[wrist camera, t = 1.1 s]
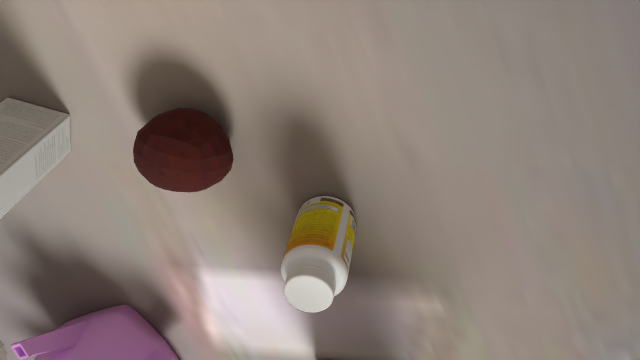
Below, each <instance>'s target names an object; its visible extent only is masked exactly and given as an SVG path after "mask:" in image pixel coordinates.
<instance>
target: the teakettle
mask: <svg viewBox="0 0 640 360" xmlns="http://www.w3.org/2000/svg"><path fill="white" fill-rule="evenodd" d="M11 348H12V349H13V351H14V353H15V354H16V356H17V357H18V359H19V360H23V359H26V358H30V357H31V356H34V355H37V356H36V357H35V359H34V360H179V358H178V357H177V355H176V354H175V353H174V351H173V350H172V348H171V347H170V346H169V344H168V343H167V342H166V341H165V340H164V338H163V337H162V336H161V335H160V334H159V333H158V332H157V331H156V330H155V329H154V328H153V327H152V326H151V325H150V324H149V323H148V322H147V321H146V320H145V319H144V318H143V317H142V316H141V315H140V314H139V313H138V312H137V311H136V310H134V309H133V308H132V307H130V306H128V305H118V306H113V307H110V308H106V309H102V310H99V311H96V312H92V313H89V314H86V315H83V316H81V317H78V318H75V319H73V320H70V321H68V322H66V323H64V324H63V325H61V326H60V327H59V328H57V329H56V330H54V331H51V332H47V333H44V334H41V335H38V336H35V337H32V338H29V339H26V340H23V341H20V342H17V343H14V344H12V345H11Z"/></svg>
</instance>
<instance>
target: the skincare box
mask: <svg viewBox="0 0 640 360" xmlns="http://www.w3.org/2000/svg"><path fill="white" fill-rule="evenodd" d="M70 150H71V143H70V115H69V114H66V113H63V112H59V111H55V110H52V109H48V108H44V107H41V106H37V105H33V104H30V103H26V102H23V101H19V100H15V99H12V98H6V99H5V100H3V101H2V102H0V219H1V218H2V217H3V216H4V215H5V214H6V213H7V212H8V211H9V210H10V209H11V208H12V207H13V206H14V205H15V204H16V203H17V202H18V201H19V200H20V199H22V198H23V197H24V196H25V195H26V194H27V193H28V192H29V191H30V190H31V189H32V188H33V187H34V186H35V185H36V184H37V183H38V182H39V181H40V180H41V179H42V178H43V177H44V176H45V175H46V174H47V173H49V172H50V171H51V170H52V169H53V168H54V167H55V166H56V165H57V164H58V163H59V162H60V161H61V160H62V159H63V158H64V157H65V156H66V155H67V154H68V153H69V152H70Z"/></svg>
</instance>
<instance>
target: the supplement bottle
mask: <svg viewBox="0 0 640 360" xmlns="http://www.w3.org/2000/svg"><path fill="white" fill-rule="evenodd" d="M356 227H357V222H356V217H355V214H354V212H353V211H352V209H351V208H350V207H349V206H348V205H347V204H346V203H345V202H343V201H342V200H340V199H337V198H334V197H330V196H318V197H314V198H312V199H310V200H308V201H307V202H305V203H304V204H303V205H302V206H301V208H300V210H299V212H298V214H297V217H296V220H295V223H294V226H293V229H292V232H291V235H290V238H289V241H288V244H287V247H286V251H285V254H284V257H283V260H282V263H281V276H282V279H283V281H284V283H285V286H284V295H285V298H286V299H287V301H288V302H289V303H290V304H291V305H292V306H293V307H295V308H296V309H298V310H301V311H304V312H310V313H315V312H320V311H323V310H325V309H327V308H328V307H329V306H330V305H331V303H332V301H333V298H334V296H336V295H337V294H339V293H340V292H341V291H342V290H343V288H344V287H345V285H346V282H347V279H348V273H349V268H350V262H351V256H352V250H353V245H354V239H355V233H356Z"/></svg>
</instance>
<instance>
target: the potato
mask: <svg viewBox="0 0 640 360" xmlns="http://www.w3.org/2000/svg"><path fill="white" fill-rule="evenodd" d="M133 153H134V163H135V165H136V167H137V169H138V171H139V172H140V173H141V174H142V175H143V176H144V177H145V178H146V179H147V180H148V181H149V182H150V183H151V184H153V185H154V186H156V187H159V188H162V189H165V190H170V191H176V192H197V191H201V190H204V189H207V188H209V187H211V186H212V185H214V184H216V183H218V182H220V181H221V180H222V179H223V178H224V177H225V176H226V175H227V174H228V172H229V171H230V170H231V167H232V163H233V153H232V149H231V145H230V141H229V139H228V138H227V136H226V135H225V133H224V131H223V130H222V128H221V127H220V125H219V124H218V123H216V122H215V121H214V120H213V119H212V118H210V117H209V116H208V115H206V114H204V113H202V112H200V111H197V110H195V109H190V108H178V109H174V110H171V111H168V112H165V113H162V114H159V115H157V116H156V117H154V118H153V119H152V120H151V121H149V122H148V123H147V124H146V125H145V126H144V127H143V128H142V129H140V130H139V131H138V133H137V136H136V139H135V143H134V149H133Z"/></svg>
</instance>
